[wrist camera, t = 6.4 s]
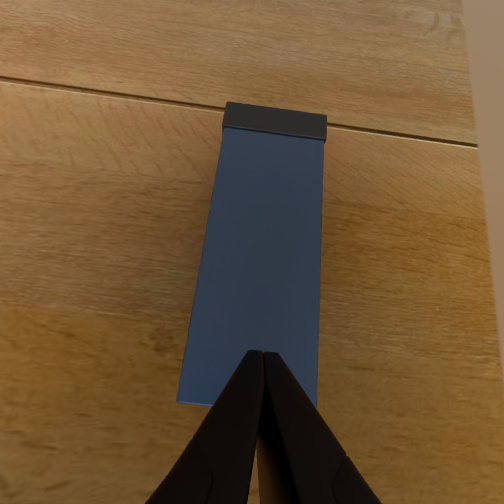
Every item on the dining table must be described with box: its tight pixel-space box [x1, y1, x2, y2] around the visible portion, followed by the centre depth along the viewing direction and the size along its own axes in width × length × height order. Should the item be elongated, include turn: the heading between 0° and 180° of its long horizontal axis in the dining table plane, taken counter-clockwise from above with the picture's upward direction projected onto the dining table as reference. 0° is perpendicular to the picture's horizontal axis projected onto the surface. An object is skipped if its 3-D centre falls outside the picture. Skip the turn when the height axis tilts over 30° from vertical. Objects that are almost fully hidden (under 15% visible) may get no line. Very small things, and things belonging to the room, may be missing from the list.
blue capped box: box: [176, 102, 327, 409], centre depth 16 cm, size 5×5×14 cm
